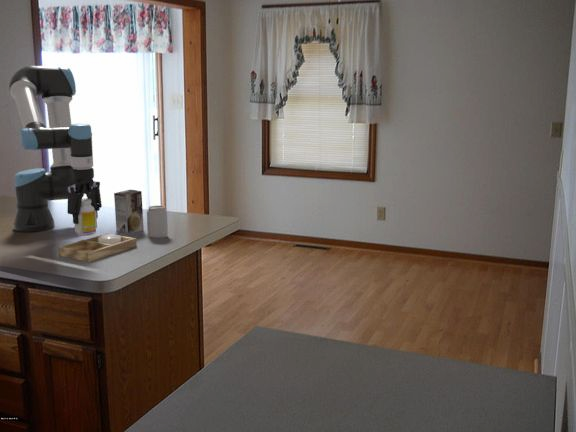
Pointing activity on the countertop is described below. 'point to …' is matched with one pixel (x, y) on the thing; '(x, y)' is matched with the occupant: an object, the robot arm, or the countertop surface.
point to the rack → (95, 248)
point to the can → (157, 221)
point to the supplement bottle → (87, 218)
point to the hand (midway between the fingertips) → (86, 229)
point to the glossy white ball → (109, 239)
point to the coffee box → (129, 211)
